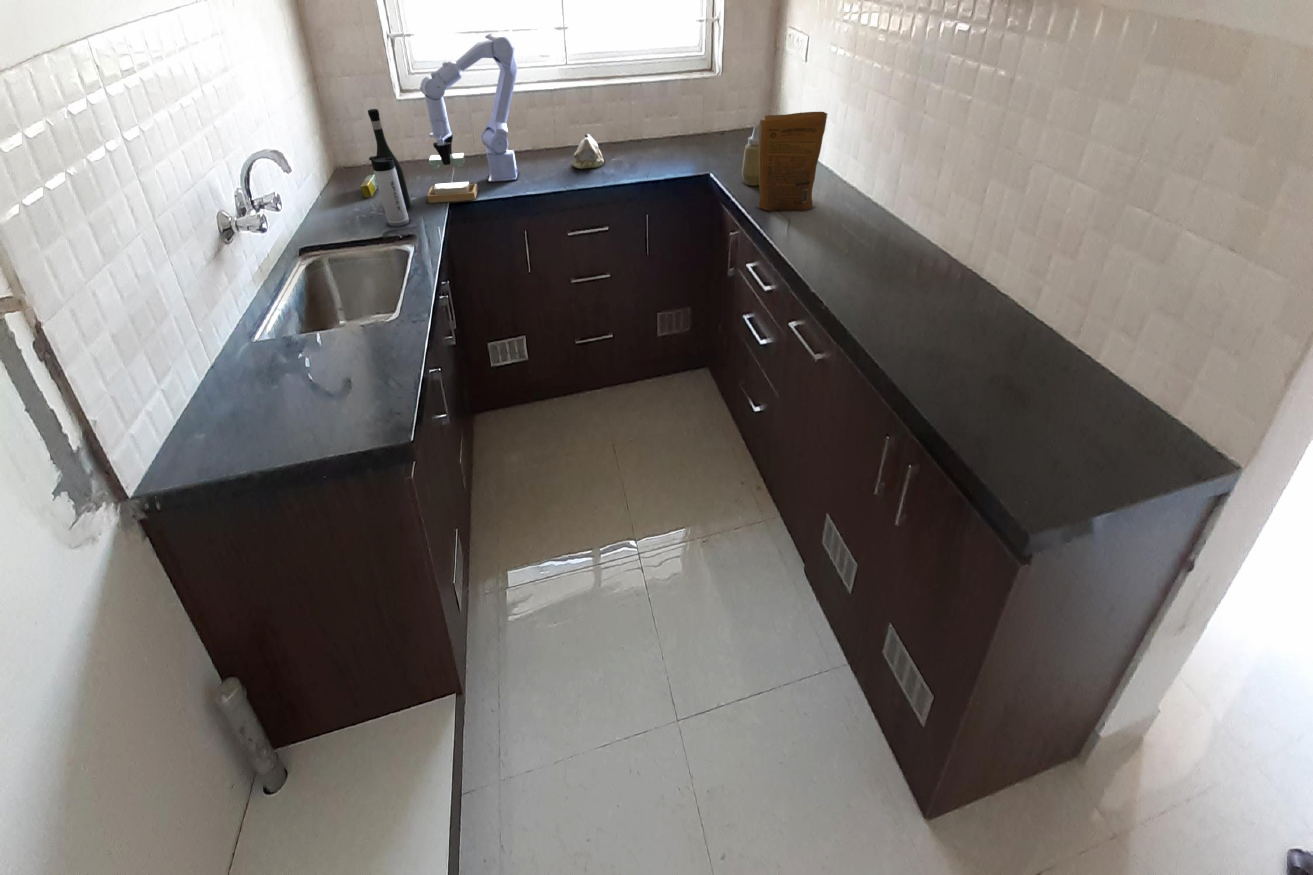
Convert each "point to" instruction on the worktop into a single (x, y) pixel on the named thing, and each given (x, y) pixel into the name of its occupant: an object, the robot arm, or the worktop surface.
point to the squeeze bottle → (751, 159)
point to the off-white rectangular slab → (451, 188)
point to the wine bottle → (388, 153)
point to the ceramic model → (588, 154)
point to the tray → (453, 195)
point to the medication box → (369, 186)
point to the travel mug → (390, 190)
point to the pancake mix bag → (789, 159)
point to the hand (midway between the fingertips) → (447, 161)
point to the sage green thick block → (454, 159)
